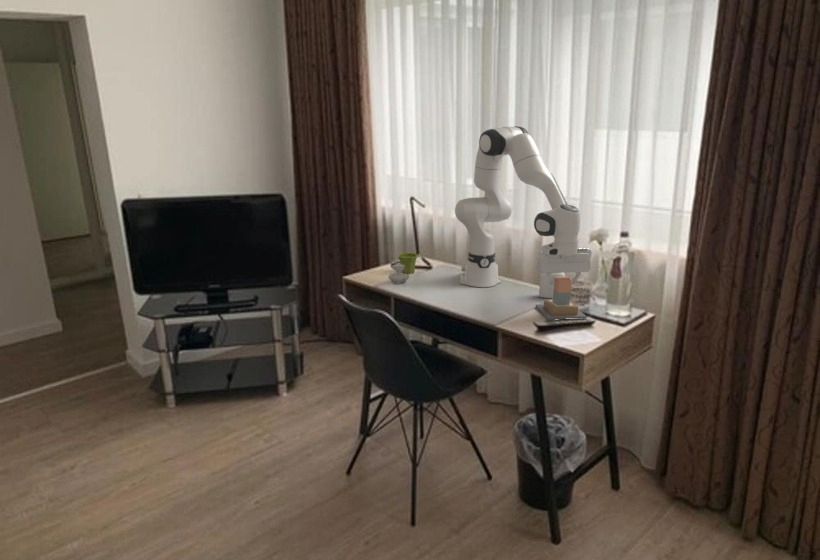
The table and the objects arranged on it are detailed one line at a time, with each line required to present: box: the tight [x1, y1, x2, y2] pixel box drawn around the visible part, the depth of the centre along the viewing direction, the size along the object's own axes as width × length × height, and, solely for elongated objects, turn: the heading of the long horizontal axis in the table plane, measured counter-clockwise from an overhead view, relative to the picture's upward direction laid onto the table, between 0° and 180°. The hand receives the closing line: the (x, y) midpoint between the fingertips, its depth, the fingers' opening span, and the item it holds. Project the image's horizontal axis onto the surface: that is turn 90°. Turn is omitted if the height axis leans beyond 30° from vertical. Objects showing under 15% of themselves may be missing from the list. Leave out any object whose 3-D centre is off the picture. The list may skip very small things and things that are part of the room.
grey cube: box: [553, 289, 571, 305], centre depth 232 cm, size 5×5×5 cm
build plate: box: [535, 298, 587, 321], centre depth 233 cm, size 15×15×4 cm
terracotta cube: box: [554, 275, 572, 293], centre depth 230 cm, size 5×5×5 cm
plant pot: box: [397, 252, 419, 275], centre depth 285 cm, size 9×9×9 cm
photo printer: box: [538, 273, 566, 299], centre depth 250 cm, size 10×4×12 cm, turn 66°
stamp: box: [388, 263, 410, 285], centre depth 270 cm, size 9×7×8 cm
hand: (562, 283), depth 230 cm, fingers open, 8 cm apart
